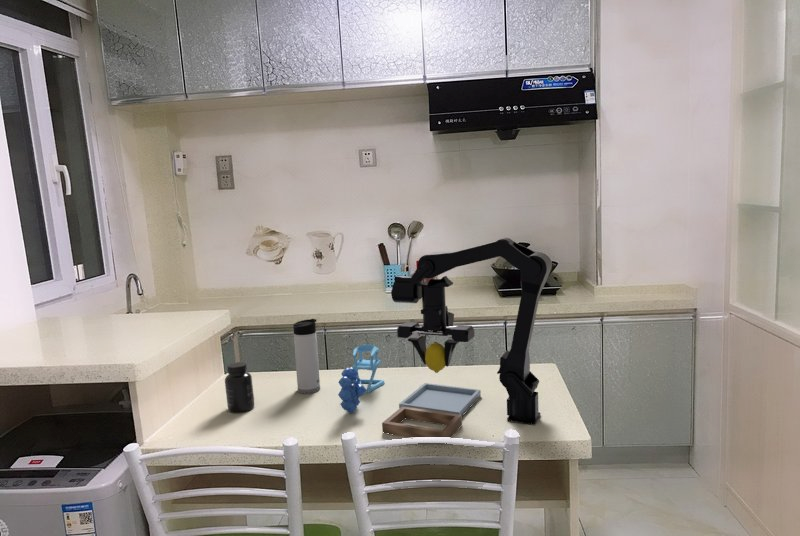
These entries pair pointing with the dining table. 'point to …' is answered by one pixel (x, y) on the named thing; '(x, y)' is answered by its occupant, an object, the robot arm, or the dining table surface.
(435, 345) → the lemon
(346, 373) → the grapes
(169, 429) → the dining table surface
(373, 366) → the chair
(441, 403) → the tray
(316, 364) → the travel mug
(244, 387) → the supplement bottle
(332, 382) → the dining table surface
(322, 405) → the dining table surface
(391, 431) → the holder
